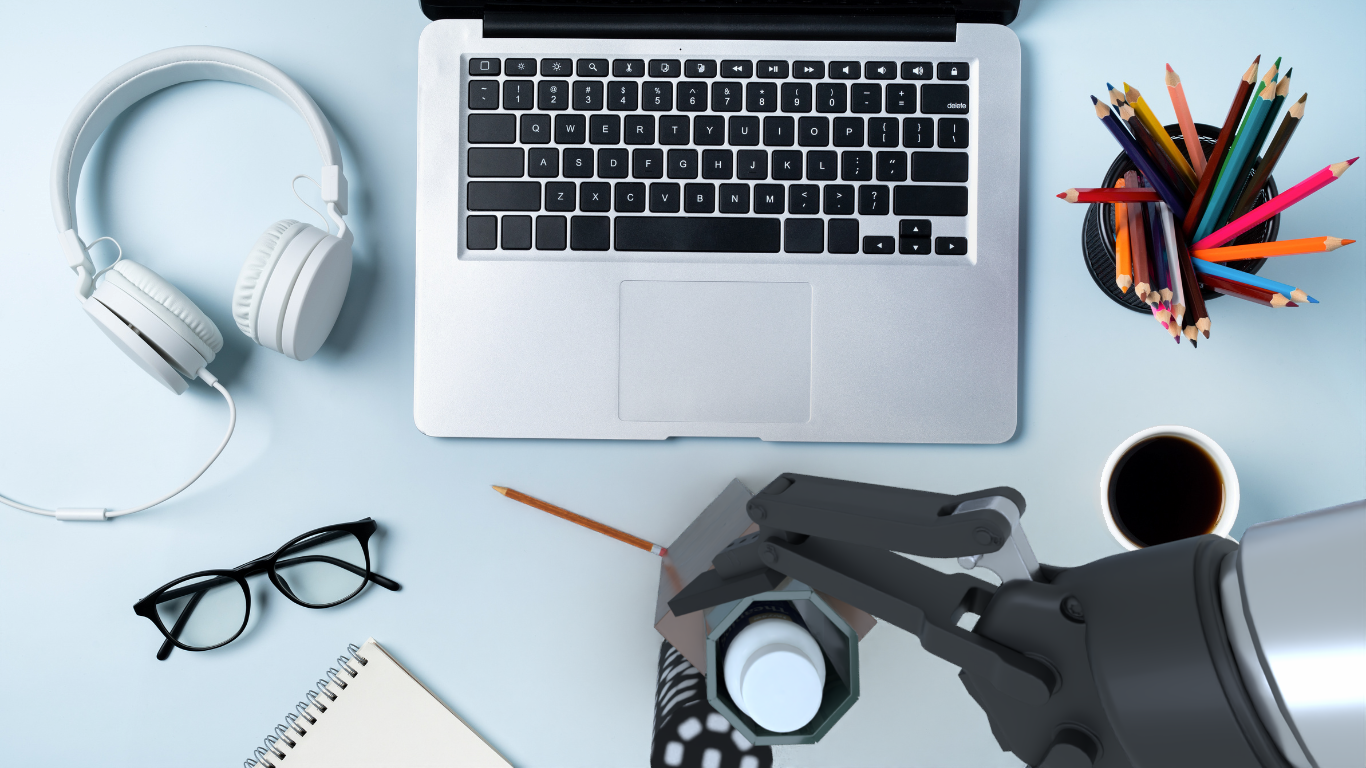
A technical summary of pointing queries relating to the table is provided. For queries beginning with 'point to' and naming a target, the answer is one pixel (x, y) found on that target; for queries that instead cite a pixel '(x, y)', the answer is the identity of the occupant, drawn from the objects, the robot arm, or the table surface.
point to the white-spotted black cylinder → (695, 723)
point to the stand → (696, 556)
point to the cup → (831, 638)
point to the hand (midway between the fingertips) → (761, 720)
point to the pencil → (580, 520)
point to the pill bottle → (773, 666)
